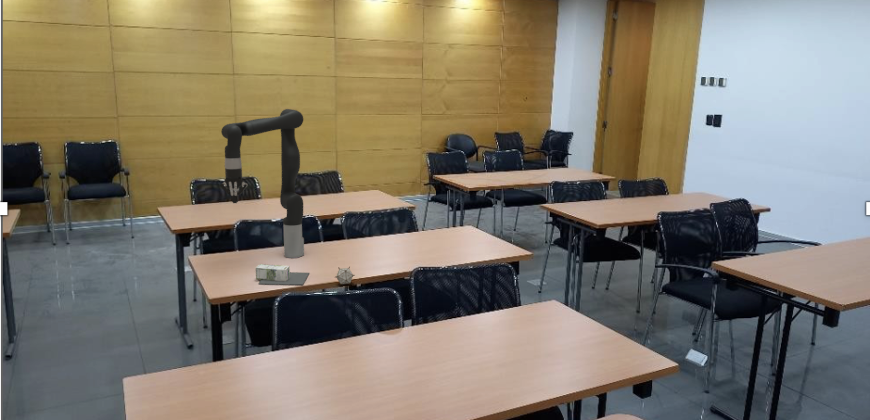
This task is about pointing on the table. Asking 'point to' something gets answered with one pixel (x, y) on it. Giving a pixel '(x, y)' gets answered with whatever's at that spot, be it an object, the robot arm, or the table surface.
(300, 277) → the mat
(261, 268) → the syrup box
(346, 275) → the spiked polyhedron ball
